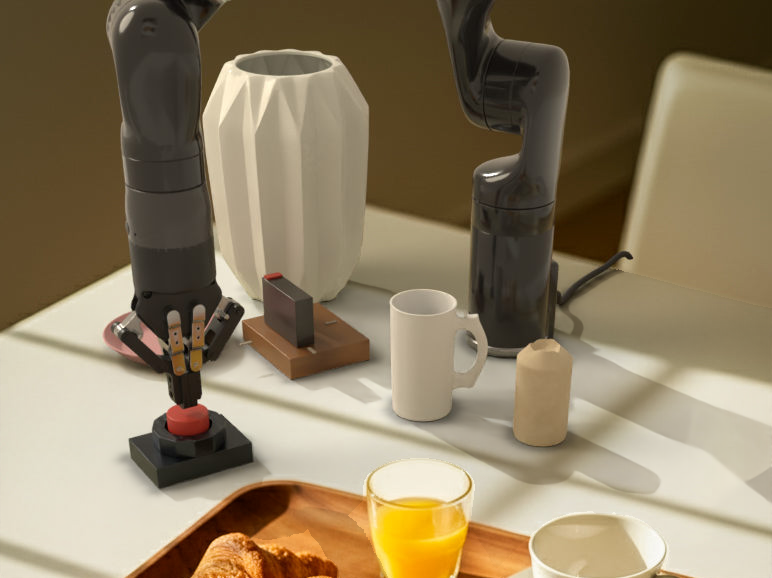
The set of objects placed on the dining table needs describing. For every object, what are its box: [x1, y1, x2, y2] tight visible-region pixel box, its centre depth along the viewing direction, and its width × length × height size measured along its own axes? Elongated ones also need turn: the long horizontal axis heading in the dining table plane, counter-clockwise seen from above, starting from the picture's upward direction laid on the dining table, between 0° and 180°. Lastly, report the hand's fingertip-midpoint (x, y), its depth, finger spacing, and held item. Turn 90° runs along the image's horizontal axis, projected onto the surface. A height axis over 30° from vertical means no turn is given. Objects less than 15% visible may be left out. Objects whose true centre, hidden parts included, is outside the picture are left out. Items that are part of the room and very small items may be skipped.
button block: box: [128, 409, 254, 490], centre depth 132 cm, size 10×7×4 cm
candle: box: [512, 339, 574, 447], centre depth 135 cm, size 6×6×10 cm
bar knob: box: [262, 272, 314, 348], centre depth 150 cm, size 8×2×6 cm, turn 32°
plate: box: [102, 310, 214, 366], centre depth 154 cm, size 14×14×2 cm
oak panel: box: [239, 302, 371, 381], centre depth 152 cm, size 13×12×3 cm
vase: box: [202, 48, 370, 304], centre depth 161 cm, size 20×20×28 cm
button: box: [166, 403, 210, 436], centre depth 130 cm, size 4×4×2 cm
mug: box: [389, 288, 488, 422], centre depth 139 cm, size 10×7×12 cm, turn 84°
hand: (186, 404), depth 129 cm, fingers closed
